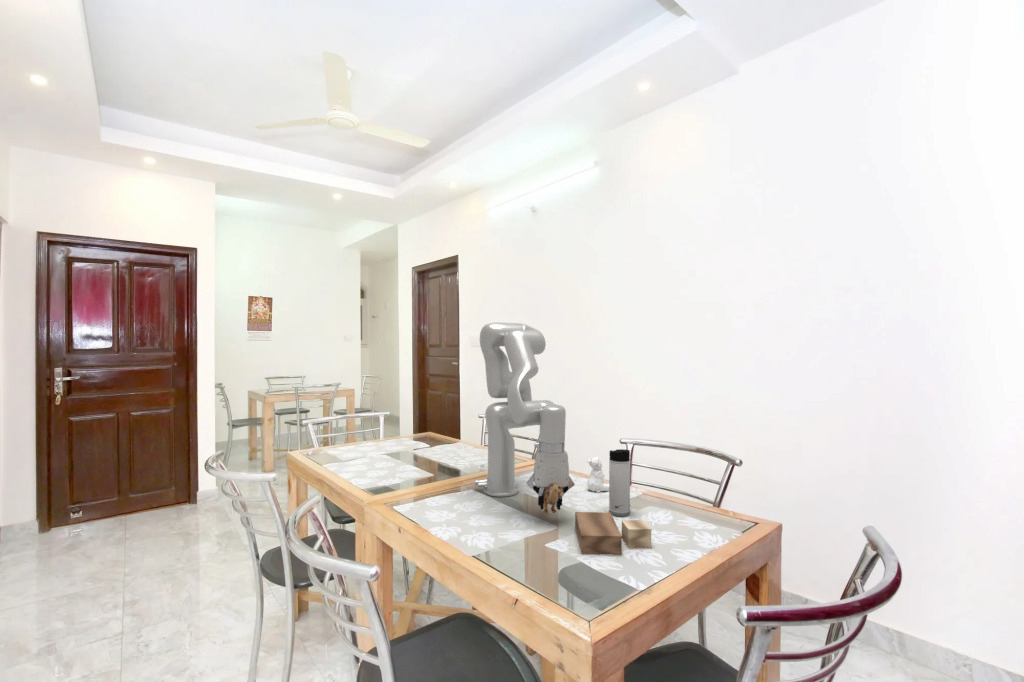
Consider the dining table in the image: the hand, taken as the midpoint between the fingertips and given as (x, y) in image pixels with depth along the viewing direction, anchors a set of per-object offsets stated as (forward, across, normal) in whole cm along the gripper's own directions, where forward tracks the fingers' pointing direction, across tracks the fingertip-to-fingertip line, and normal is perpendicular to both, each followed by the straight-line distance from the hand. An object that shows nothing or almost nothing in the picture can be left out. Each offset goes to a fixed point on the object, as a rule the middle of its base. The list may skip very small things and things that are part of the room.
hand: (549, 507), depth 135 cm
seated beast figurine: (+5, +22, +28) cm, 35 cm away
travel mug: (+4, +23, +5) cm, 23 cm away
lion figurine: (+1, 0, +1) cm, 2 cm away
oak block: (+3, +21, -16) cm, 27 cm away
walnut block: (+4, +11, -14) cm, 18 cm away
